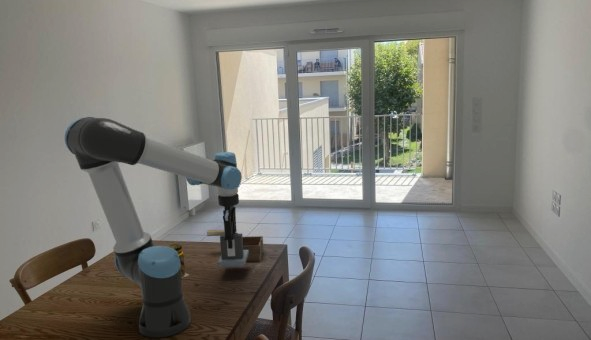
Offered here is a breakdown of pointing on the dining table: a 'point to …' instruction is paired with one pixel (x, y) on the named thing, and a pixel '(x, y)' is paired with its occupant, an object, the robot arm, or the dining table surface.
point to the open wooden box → (253, 248)
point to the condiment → (181, 257)
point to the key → (215, 232)
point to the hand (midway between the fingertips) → (232, 253)
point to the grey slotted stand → (239, 252)
